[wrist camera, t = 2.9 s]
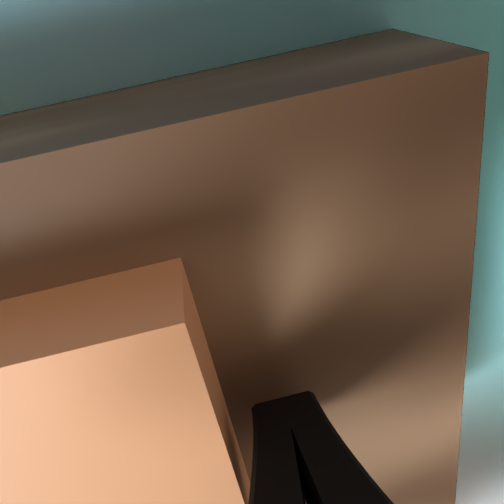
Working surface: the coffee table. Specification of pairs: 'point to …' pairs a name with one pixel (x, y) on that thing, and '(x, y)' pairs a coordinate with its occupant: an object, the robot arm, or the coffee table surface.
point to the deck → (284, 229)
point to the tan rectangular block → (114, 396)
